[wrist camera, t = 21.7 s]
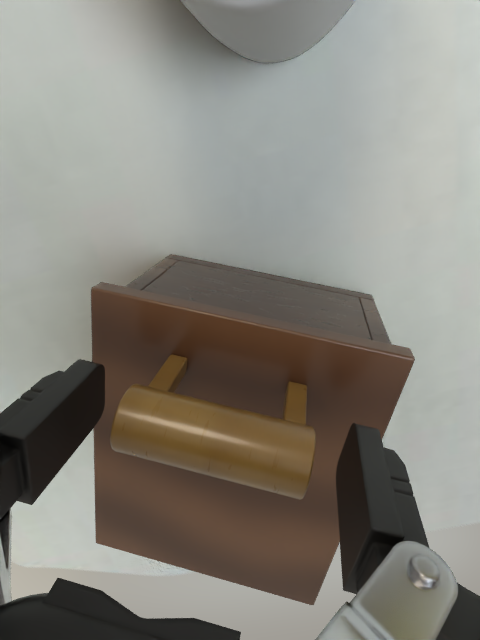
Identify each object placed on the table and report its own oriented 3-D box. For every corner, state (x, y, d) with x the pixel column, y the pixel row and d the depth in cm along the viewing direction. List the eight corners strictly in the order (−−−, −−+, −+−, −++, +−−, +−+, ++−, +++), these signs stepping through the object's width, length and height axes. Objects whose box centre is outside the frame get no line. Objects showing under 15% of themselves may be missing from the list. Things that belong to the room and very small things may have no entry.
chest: (170, 253, 22) (101, 301, 15) (372, 295, 21) (402, 368, 14) (156, 433, 28) (103, 529, 21) (313, 473, 26) (313, 588, 19)
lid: (101, 280, 14) (-2, 342, 10) (410, 347, 13) (463, 454, 9) (102, 529, 21) (40, 640, 16) (313, 589, 19) (313, 728, 15)
